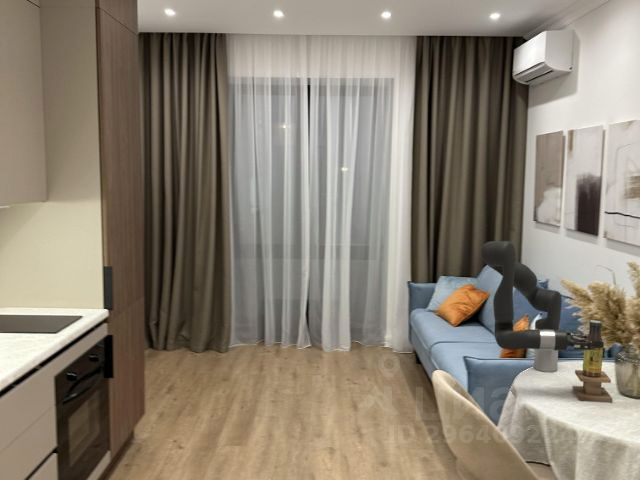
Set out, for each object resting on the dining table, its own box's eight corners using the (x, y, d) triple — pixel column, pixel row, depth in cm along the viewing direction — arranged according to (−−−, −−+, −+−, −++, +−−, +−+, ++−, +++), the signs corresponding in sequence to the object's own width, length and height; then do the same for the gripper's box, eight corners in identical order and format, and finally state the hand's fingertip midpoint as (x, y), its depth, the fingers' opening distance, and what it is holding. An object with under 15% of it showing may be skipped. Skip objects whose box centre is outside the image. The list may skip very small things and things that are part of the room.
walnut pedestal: (572, 389, 225) (573, 369, 224) (603, 391, 223) (604, 370, 222) (579, 400, 214) (580, 379, 213) (612, 402, 212) (613, 380, 211)
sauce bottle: (589, 378, 214) (591, 323, 212) (578, 372, 220) (581, 319, 218) (605, 377, 215) (608, 322, 213) (594, 371, 221) (597, 318, 219)
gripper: (556, 335, 212) (606, 337, 208) (548, 324, 226) (596, 326, 222) (555, 355, 212) (605, 358, 209) (548, 344, 226) (595, 346, 223)
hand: (600, 341), depth 216 cm, fingers open, 6 cm apart
